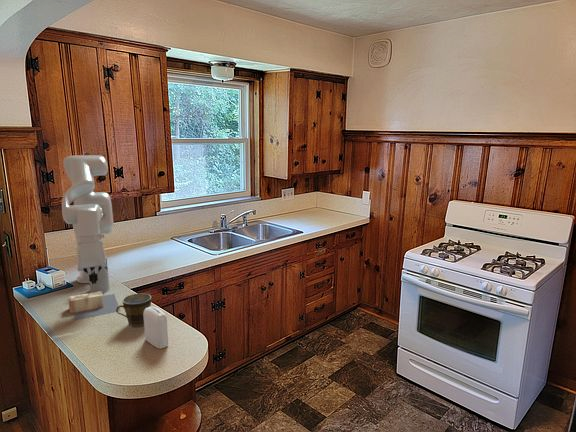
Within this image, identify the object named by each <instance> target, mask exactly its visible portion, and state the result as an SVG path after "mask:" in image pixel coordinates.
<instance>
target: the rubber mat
mask: <svg viewBox="0 0 576 432" xmlns="http://www.w3.org/2000/svg"><path fill="white" fill-rule="evenodd" d="M103 303H104V307H100V308H95V309H90V310H85V311H79V312H74V313H73V316H74V321H78V320H82V319H89V318H93V317H97V316H98V317H99V316H102V315H103V316H104V315H107V314H113V313H117V312H116V309H117V307H118V306H120V305H119V303H118V301H117V298H116V295H115V293H111V294H106V295H103ZM118 312H119V313H120V312H121V307H120V308H119V309H118Z"/></svg>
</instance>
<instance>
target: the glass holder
mask: <svg viewBox="0 0 576 432" xmlns="http://www.w3.org/2000/svg"><path fill="white" fill-rule="evenodd" d="M106 264H107V265H108V261H107V258H106ZM90 269H91V271H92V273H94V267H90ZM97 275H98V281H96V284H95V283H94V284H92V282H90V281H89V282H90V283H89V293H94V292H100V291H102V294H105V293H108V292H109V291H111V288H110V278H109V268H108V266H107V267H105V268H102V269H101V270H100V271H99V272H98V274H97ZM93 279H94V278H93Z"/></svg>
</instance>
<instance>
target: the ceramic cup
mask: <svg viewBox="0 0 576 432" xmlns="http://www.w3.org/2000/svg"><path fill="white" fill-rule="evenodd" d="M151 305H152V296H151V294H149V293H143V292H141V293H133V294H130V295H127V296H125V297H124V298H123V299H122V304H120V305H119V306H118V307H117V309H116V312H115V313H117V314H118V315H121V316H123V317H125V318H126V319H127V323H128V326H129V327H131V328H132V329H133V328H142V327H144V316H143V313H144V310H145V309H146V308H148V307H152V306H151ZM119 308H120V309H121V308H123V309H124V311H125V314H124V313H121V312H120V311H119V312H118V309H119Z"/></svg>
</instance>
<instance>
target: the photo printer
mask: <svg viewBox="0 0 576 432" xmlns="http://www.w3.org/2000/svg"><path fill="white" fill-rule="evenodd" d="M143 316H144V326H143V329H144V339H145V340H146V341H147V343H149V344H151V346H153V347H155V348H157V349H160V350H161V349H164V348H166V347H168V345H169V336H168V334H169V333H168V332H169V331H168V319H167V316H166V314H165V313H164V312H163V311H162V310H161V309H160V308H158V307H155V306H150V307H148V308H146V309H145V310H144V313H143Z"/></svg>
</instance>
